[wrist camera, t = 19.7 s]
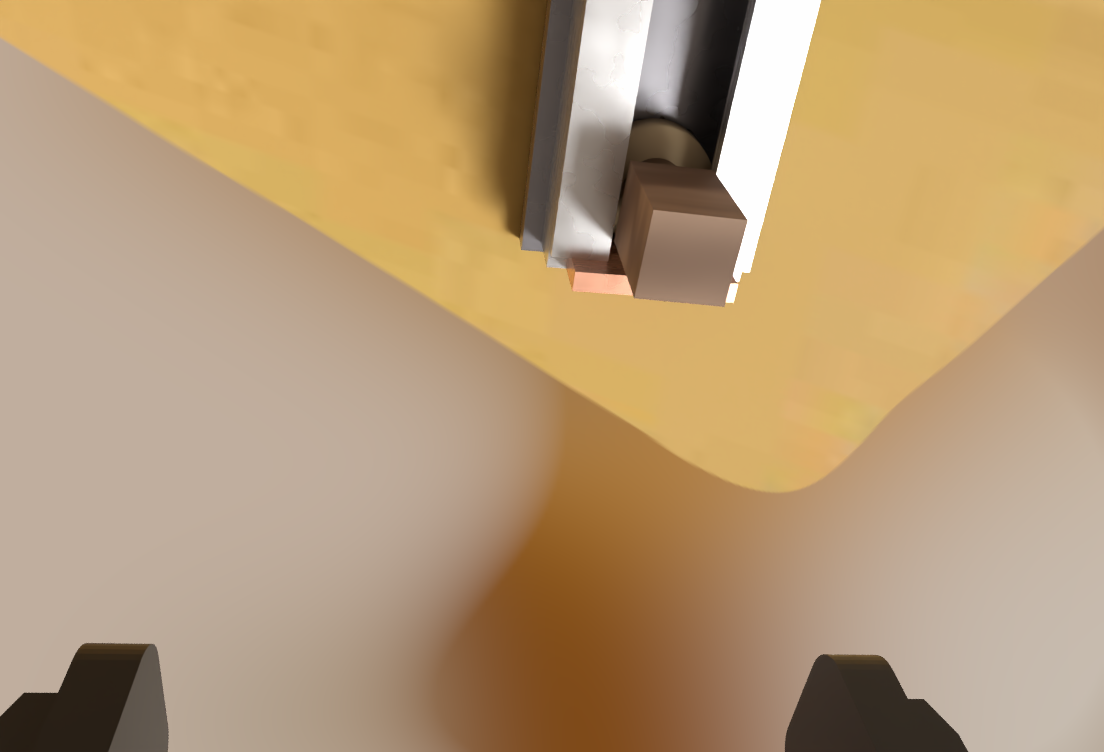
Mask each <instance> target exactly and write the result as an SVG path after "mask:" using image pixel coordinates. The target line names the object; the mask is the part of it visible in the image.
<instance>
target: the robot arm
mask: <svg viewBox="0 0 1104 752" xmlns="http://www.w3.org/2000/svg"><path fill="white" fill-rule="evenodd" d="M0 752H168V723H167V716H166V708H165V701H164V694H163V686H162V679H161V672H160V664H159V657H158V652H157V648H156V647H155V645H154V644H114V643H86V644H83V645H82V646H81V647H80V648H79V649H78V651H77V652H76V654H75V656H74V658H73V660H72V662H71V665H70V667H69V669H68V671H67V674H66V676H65V678H64V681H63V683H62V686H61V687H60V690H59V692H58V693H23V694H22V696H21V697H20V698H18V699H17V700H16V701H15V702H14V703H13V704H12V706H10V707H9V708H8V709H7V710H6V711H5V712H4V713H3V714H2V715H1V716H0ZM785 752H968V751H967V749H966V747H965V745H964V744H963V742H962V740H961V738H960V736H959V735H958V733H956V731H954V729H953V728H952V727H951V726H949V724H948V723H947V722H946V721H945V720H944V719H943V718H942V717H941V716H940V715H939V714H938V713H937V712H936V711H935V710H934V709H933V708H932V707H931V706H930V705H929V704H928V703H927V702H926V701H925V700H924V699H908V698H907V696H906V695H905V693H904V691H903V689H902V687H901V685H900V683H899V681H898V679H897V677H896V676H895V673H894V672H893V670H892V668H891V666H890V665H889V663H888V662H887V661H886V660H885V659H884V658H883V657H881V656H878V655H828V654H823V655H820V656H819V657H818V658H817V659H816V661H815V662H814V665H813V667H812V669H811V672H810V674H809V677H808V679H807V682H806V684H805V687H804V689H803V692H802V694H801V697H800V699H799V702H798V704H797V707H796V709H795V712H794V714H793V717H792V719H791V722H790V724H789V727H788V730H787V733H786V741H785Z"/></svg>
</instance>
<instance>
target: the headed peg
mask: <svg viewBox="0 0 1104 752" xmlns="http://www.w3.org/2000/svg"><path fill="white" fill-rule="evenodd" d="M747 223H748V219H747V218H746V216H745V215H744V213H743V212H742V211H741V209H740V208H739V206H738V205H737V203H736V202H735V200H734V199H733V198H732V196H731V195H730V193H729V192H728V190H727V189H726V187H725V186H724V185H723V183H722V182H721V180H720V179H719V177H718V176H717V174H716V173H715V171H714V170H711V163H710V160H709V158H708V156H707V154H706V152H705V151H704V149H703V148H702V146H701V145H700V143H699V142H698V141H697V139H696V138H695V137H694V136H693V135H692V134H691V133H690V132H689V131H688V130H687V129H686V128H684V127H683V126H681V125H679V124H677V123H675V122H672V121H669V120H665V119H659V118H648V119H641V120H637V121H634V122H632V126H631V132H630V138H629V144H628V149H627V155H626V161H625V167H624V172H623V178H622V184H621V190H620V195H619V201H618V207H617V213H616V218H615V224H614V230H613V232H614V233H616V234H615V239H614V242H615V245H616V248H617V251H618V253H619V256H620V259H621V262H622V265H623V268H624V270H625V273H626V276H627V279H628V282H629V285H630V288H631V290H632V293H633V296H634V298H638V299H649V300H659V301H669V302H680V303H690V304H701V305H711V306H722V307H724V306H725V302H726V299H727V295H728V292H729V288H730V284H731V281H732V277H733V274H734V270H735V266H736V263H737V259H738V256H739V252H740V248H741V245H742V241H743V238H744V234H745V230H746V227H747Z"/></svg>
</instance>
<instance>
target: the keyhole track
mask: <svg viewBox="0 0 1104 752" xmlns="http://www.w3.org/2000/svg"><path fill="white" fill-rule="evenodd" d="M820 2H821V0H547V9H546V17H545V26H544V34H543V43H542V51H541V60H540V68H539V77H538V85H537V94H536V102H535V111H534V119H533V128H532V136H531V145H530V153H529V162H528V170H527V179H526V187H525V196H524V204H523V213H522V221H521V230H520V238H519V239H520V245H521V250H529V251H541V252H544V257H545V261H546V266H547V267H554V268H567V272H568V276H569V280H570V284H571V287H572V291H581V292H595V293H609V294H622V295H633V293H632V290H631V288H630V285H629V282H628V279H627V276H626V273H625V270H624V268H623V265H622V262H621V259H620V256H619V253H618V251H617V248H616V245H615V242H614V239H615V234H616V233H614V232H613V230H614V224H615V218H616V213H617V207H618V201H619V195H620V190H621V184H622V178H623V172H624V167H625V161H626V155H627V149H628V144H629V138H630V132H631V126H632V122H634V121H637V120H641V119H648V118H659V119H665V120H669V121H672V122H675V123H677V124H679V125H681V126H683V127H684V128H686V129H687V130H688V131H689V132H690V133H691V134H692V135H693V136H694V137H695V138H696V139H697V141H698V142H699V143H700V145H701V146H702V148H703V149H704V151H705V152H706V154H707V156H708V158H709V160H710V163H711V170H714V171H715V173H716V174H717V176H718V177H719V179H720V180H721V182H722V183H723V185H724V186H725V187H726V189H727V190H728V192H729V193H730V195H731V196H732V198H733V199H734V200H735V202H736V203H737V205H738V206H739V208H740V209H741V211H742V212H743V213H744V215H745V216H746V218H747V219H748V223H747V227H746V230H745V234H744V238H743V241H742V245H741V248H740V252H739V256H738V259H737V263H736V266H735V270H734V274H733V277H732V281H731V284H730V288H729V292H728V295H727V299H726V302H734V298H735V295H736V291H737V287H738V283H737V281H738V282H739V280H740V276H741V272H749V271H750V267H751V264H752V260H753V256H754V252H755V248H756V245H757V241H758V237H759V233H760V229H761V226H762V222H763V218H764V214H765V210H766V207H767V203H768V199H769V195H770V191H771V188H772V184H773V180H774V176H775V173H776V169H777V165H778V161H779V157H780V154H781V150H782V146H783V142H784V138H785V135H786V131H787V127H788V123H789V119H790V116H791V112H792V108H793V104H794V100H795V97H796V93H797V89H798V85H799V81H800V78H801V74H802V70H803V66H804V62H805V59H806V55H807V51H808V47H809V43H810V40H811V36H812V32H813V28H814V24H815V21H816V17H817V13H818V9H819V5H820Z"/></svg>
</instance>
